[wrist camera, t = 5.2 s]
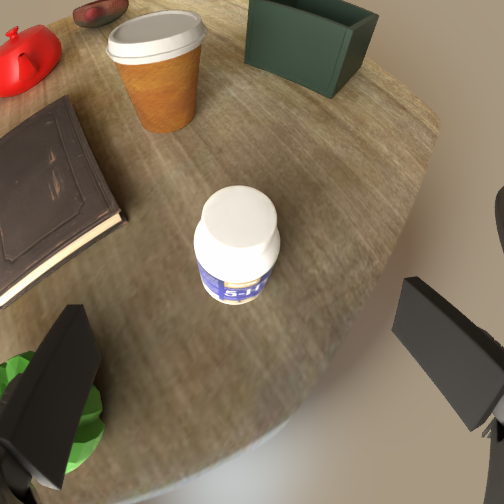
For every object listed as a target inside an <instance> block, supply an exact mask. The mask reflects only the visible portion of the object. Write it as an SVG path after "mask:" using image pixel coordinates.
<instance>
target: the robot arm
mask: <svg viewBox="0 0 504 504" xmlns="http://www.w3.org/2000/svg"><path fill="white" fill-rule="evenodd" d="M392 332H393V333H394V334H395V335H396V336H397V338H398V339H399V340H400V341H401V342H402V344H403V345H404V346H405V347H406V348H407V350H408V351H409V352H410V353H411V355H412V356H413V357H414V358H415V359H416V361H417V362H418V363H419V365H420V366H421V367H422V368H423V370H424V371H425V372H426V373H427V374H428V376H429V377H430V378H431V380H432V381H433V382H434V384H435V385H436V386H437V387H438V389H439V390H440V391H441V393H442V394H443V395H444V396H445V398H446V399H447V401H448V402H449V403H450V405H451V406H452V407H453V409H454V410H455V411H456V412H457V414H458V415H459V417H460V418H461V419H462V421H463V422H464V423H465V425H466V426H467V427H468V429H469V431H470V432H471V431H473V430H474V429H476V428H478V427H479V426H481V425H482V424H483V423H485V421H486V420H487V418H488V417H489V416H490V414H491V413H493V414H494V416H495V417H494V419H493V420H492V421H491V423H490V424H489V425H488V427H487V428H486V429H485V430H484V432H483V433H482V437H484V436H485V435H486V434H487V433H488V432H489V430H490V429H491V432H490V433H489V435H488V437H487V438H491V445H490V461H489V471H488V479H487V486H486V492H485V498H484V504H504V347H503V346H502V347H501V344H500V343H498V342H497V341H496V340H494V338H493V337H492V336H491V335H490V334H489V333H488V332H486V331H485V330H483V329H481V328H479V327H477V326H476V325H475V324H474V323H473V322H471V321H470V320H469V319H468V318H467V317H466V316H465V315H463V314H462V313H461V312H460V311H459V310H458V309H456V308H455V307H454V306H453V305H452V304H451V303H449V302H448V301H447V300H446V299H445V298H443V297H442V296H441V295H440V294H438V293H437V292H436V291H435V290H434V289H432V288H431V287H430V286H429V285H427V284H426V283H425V282H424V281H422V280H421V279H420V278H419V277H409V278H404V281H403V285H402V290H401V295H400V299H399V303H398V308H397V311H396V315H395V320H394V323H393V327H392ZM101 360H102V357H101V354H100V352H99V349H98V347H97V344H96V341H95V338H94V336H93V333H92V330H91V327H90V324H89V321H88V319H87V315H86V312H85V309H84V306H83V304H79V305H67V306H66V307H65V309H64V310H63V311H62V313H61V314H60V316H59V317H58V319H57V320H56V322H55V323H54V324H53V326H52V327H51V329H50V330H49V332H48V333H47V335H46V336H45V338H44V340H43V341H42V343H41V344H40V346H39V347H38V349H37V351H36V352H35V354H34V355H33V357H32V359H31V360H30V362H29V364H28V365H27V367H26V369H25V370H24V372H23V373H18V374H17V375H16V376H15V377H14V378H13V379H12V380H11V381H10V382H9V383H8V385H7V387H6V389H5V390H4V395H3V394H2V396H1V398H0V504H42V502H41V500H40V498H39V496H38V494H37V492H36V489H35V488H34V486H33V485H32V484H31V483H30V482H31V479H32V477H33V478H35V479H36V480H37V481H38V482H39V483H40V484H41V485H44V486H47V487H50V488H53V489H57V490H60V491H61V489H62V484H63V480H64V476H65V472H66V468H67V464H68V460H69V457H70V453H71V449H72V446H73V442H74V439H75V435H76V432H77V429H78V426H79V422H80V419H81V416H82V413H83V410H84V407H85V404H86V401H87V398H88V395H89V392H90V390H91V387H92V384H93V381H94V378H95V376H96V373H97V370H98V368H99V365H100V362H101Z"/></svg>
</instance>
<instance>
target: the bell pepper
mask: <svg viewBox="0 0 504 504" xmlns="http://www.w3.org/2000/svg"><path fill="white" fill-rule="evenodd" d="M34 354H35V352H33V351H28V352H25V353H22V354H19V355H16V356H14V357H12V358H10V359H8V362H7V363H5V362H4V363H2V364H0V398H1V396H2V394H3V395H4V390H5V389H6V387H7V385H8V383H9V382H10V381H11V380H12V379H13V378H14V377H15V376H16V375H17V374H18V373H23V372H24V370H25V369H26V367H27V365H28V364H29V362H30V360H31V359H32V357H33V355H34ZM102 410H103V408H102V403H101V398H100V392H99V391H98V389H97V388H96V387H95V386H94V385H93V384H92V387H91V390H90V392H89V395H88V398H87V401H86V404H85V407H84V410H83V413H82V416H81V419H80V422H79V426H78V429H77V432H76V435H75V439H74V442H73V446H72V449H71V453H70V457H69V460H68V464H67V468H66V472H65V474H67V473H69V472H71V471H72V470H74V469H76V468H77V467H78V466H79V465H81V464H82V463H83V462H84V461H85V460H86V459H87V458H88V457H89V456H90V455H91V453H92V452H93V451H94V449H95V448H96V447H97V445H98V443H99V442H100V440H101V437H102V434H103V431H104V428H105V425H104V423H103V421H102V420H101V419H100V418H99V415H100V413H101V412H102Z"/></svg>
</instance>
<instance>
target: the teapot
mask: <svg viewBox="0 0 504 504" xmlns="http://www.w3.org/2000/svg"><path fill="white" fill-rule="evenodd" d="M17 31H18V26H16V27H14V28H13V29H11V30H10V31H8V32H7V33H6V34H5V35H6V36H9V37H10V39H9V40H8V41H7V42H5V43H4V44H3V45H2V46H0V97H11V96H14V95H18V94H21V93H23V92H25V91H27V90H28V89H30V88H32V87H33V86H35V85H36V84H38V83H39V82H40V81H42V80H43V79H44V78H45V77H46V76H47V75H48V74H49V73H50V72H51V70H52V69H53V68H54V67H55V65H56V64H57V62H58V61H59V59H60V57H61V54H62V48H61V43H60V41H59V39H58V38H57V37H56V35H55V34H54V33H52V32H51V31H50V30H49V29H48V28H46V27H45V26H44V25H37V26H34V27H31V28H28V29H26V30H24V31H22V32H20V33H19V34H18V33H17Z"/></svg>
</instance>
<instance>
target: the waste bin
mask: <svg viewBox="0 0 504 504" xmlns="http://www.w3.org/2000/svg"><path fill="white" fill-rule="evenodd" d="M378 17H379V15H377V14H375V13H373V12H371V11H368V10H366V9H363V8H361V7H358V6H356V5H353V4H351V3H348V2H345V1H342V0H249V10H248V22H247V34H246V47H245V61H244V63H246V64H249V65H252V66H255V67H257V68H260V69H263V70H265V71H268V72H271V73H273V74H276V75H278V76H281V77H283V78H286V79H288V80H291V81H293V82H295V83H298V84H300V85H302V86H304V87H307V88H309V89H311V90H313V91H315V92H318V93H320V94H322V95H324V96H326V97H328V98H330V99H332V98H333V97H334V95H335V94H336V93H337V92H338V91H339V90H340V89H341V88H342V87H343V86H344V85H345V83H346V82H347V81H348V80H349V79H350V78H351V77H352V76H353V75H354V74H355V73H356V72H357V71H358V70H359V68H360V67H361V65H362V62H363V59H364V57H365V54H366V51H367V48H368V45H369V43H370V40H371V37H372V34H373V32H374V29H375V26H376V23H377V20H378Z"/></svg>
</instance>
